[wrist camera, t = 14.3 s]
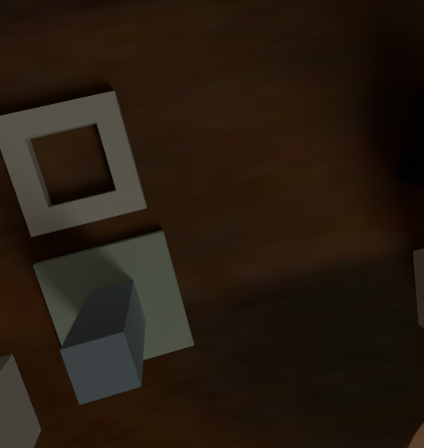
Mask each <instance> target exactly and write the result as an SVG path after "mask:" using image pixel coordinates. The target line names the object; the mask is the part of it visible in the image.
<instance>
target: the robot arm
mask: <svg viewBox="0 0 424 448" xmlns="http://www.w3.org/2000/svg"><path fill="white" fill-rule="evenodd" d="M413 257H414V270H415V283H416V295H417V308H418V321H419V325H420V326H422V327H423V328H424V249H420V250H416V251H413ZM40 431H41V428H40V425H39V423H38V420H37V418H36V415H35V412H34V410H33V407H32V404H31V402H30V399H29V396H28V394H27V391H26V388H25V386H24V383H23V381H22V378H21V375H20V373H19V370H18V367H17V365H16V362H15V359H14V357H13V354H11V355H7V356H3V357H0V448H34V445H35V443H36V440H37V438H38V436H39V433H40Z"/></svg>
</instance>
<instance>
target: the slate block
mask: <svg viewBox="0 0 424 448" xmlns="http://www.w3.org/2000/svg"><path fill="white" fill-rule="evenodd" d="M145 326H146V320H145V317H144V313H143V310H142V307H141V303H140V300H139V297H138V293H137V290H136V286H135V283H134V281H130V282H127V283H123V284H119V285H115V286H112V287H108V288H104V289H101V290H97V291H93V292H90V293H88V295H87V297H86V299H85V301H84V303H83V305H82V307H81V309H80V311H79V313H78V315H77V317H76V319H75V321H74V323H73V325H72V327H71V329H70V331H69V333H68V335H67V337H66V339H65V341H64V343H63V345H62V347H61V349H60V352H61V355H62V357H63V360H64V363H65V366H66V368H67V371H68V374H69V377H70V380H71V382H72V385H73V388H74V391H75V393H76V396H77V399H78V402H79V404H80V405H81V404H84V403H87V402H91V401H94V400H97V399H101V398H104V397H108V396H111V395H114V394H118V393H121V392H124V391H128V390H131V389H134V388H138V387H141V380H142V367H143V353H144V340H145Z"/></svg>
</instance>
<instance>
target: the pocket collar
mask: <svg viewBox="0 0 424 448" xmlns="http://www.w3.org/2000/svg"><path fill="white" fill-rule="evenodd" d="M94 124H97V126H98V130H99V133H100V136H101V140H102V143H103V147H104V150H105V154H106V157H107V160H108V164H109V167H110V171H111V174H112V177H113V181H114V184H115V188H116V190H113V191H109V192H105V193H101V194H97V195H93V196H89V197H85V198H81V199H77V200H73V201H69V202H65V203H61V204H57V205H52V203H51V200H50V197H49V194H48V191H47V188H46V185H45V182H44V179H43V176H42V173H41V170H40V167H39V164H38V161H37V158H36V155H35V152H34V149H33V146H32V143H31V140H30V139H33V138H37V137H41V136H46V135H50V134H54V133H59V132H63V131H68V130H72V129H76V128H81V127H85V126H90V125H94ZM0 149H1V152H2V155H3V158H4V161H5V164H6V166H7V169H8V172H9V175H10V178H11V181H12V184H13V186H14V189H15V192H16V195H17V198H18V201H19V203H20V206H21V209H22V212H23V215H24V218H25V220H26V223H27V226H28V229H29V232H30V235H31V237H34V236H38V235H42V234H46V233H50V232H54V231H58V230H62V229H66V228H69V227H73V226H77V225H81V224H85V223H89V222H93V221H97V220H101V219H105V218H109V217H113V216H117V215H121V214H125V213H129V212H133V211H137V210H141V209H145V208H147V204H146V201H145V197H144V193H143V190H142V186H141V182H140V179H139V175H138V172H137V168H136V164H135V161H134V157H133V154H132V150H131V146H130V143H129V139H128V135H127V132H126V128H125V125H124V121H123V117H122V114H121V110H120V106H119V103H118V99H117V96H116V93H115V91H111V92H106V93H102V94H97V95H92V96H88V97H83V98H79V99H74V100H70V101H65V102H61V103H56V104H52V105H47V106H43V107H38V108H34V109H29V110H25V111H20V112H15V113H11V114H6V115H2V116H0Z"/></svg>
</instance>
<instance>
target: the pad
mask: <svg viewBox="0 0 424 448" xmlns="http://www.w3.org/2000/svg"><path fill="white" fill-rule="evenodd" d="M33 267H34V270H35V273H36V276H37V278H38V281H39V284H40V287H41V289H42V292H43V295H44V298H45V301H46V303H47V306H48V309H49V312H50V315H51V317H52V320H53V323H54V326H55V329H56V331H57V334H58V337H59V340H60V343H61V345H63V343H64V341H65V339H66V337H67V335H68V333H69V331H70V329H71V327H72V325H73V323H74V321H75V319H76V317H77V315H78V313H79V311H80V309H81V307H82V305H83V303H84V301H85V299H86V297H87V295H88V293H90V292H93V291H97V290H101V289H104V288H108V287H112V286H115V285H119V284H123V283H127V282H130V281H134V283H135V286H136V290H137V293H138V297H139V300H140V303H141V307H142V310H143V313H144V317H145V320H146V326H145V340H144V353H143V360H145V359H148V358H152V357H155V356H158V355H162V354H165V353H169V352H172V351H176V350H179V349H182V348H186V347H189V346H193V345H194V343H193V339H192V335H191V331H190V328H189V324H188V320H187V317H186V313H185V309H184V305H183V302H182V298H181V294H180V291H179V287H178V283H177V280H176V276H175V272H174V269H173V265H172V261H171V257H170V254H169V250H168V246H167V243H166V239H165V235H164V232H163V230H160V231H156V232H152V233H149V234H145V235H141V236H137V237H133V238H129V239H125V240H122V241H118V242H114V243H110V244H106V245H102V246H98V247H95V248H91V249H87V250H83V251H79V252H75V253H72V254H68V255H64V256H60V257H56V258H52V259H48V260H45V261H41V262H37V263H35V264H34V265H33Z"/></svg>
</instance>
